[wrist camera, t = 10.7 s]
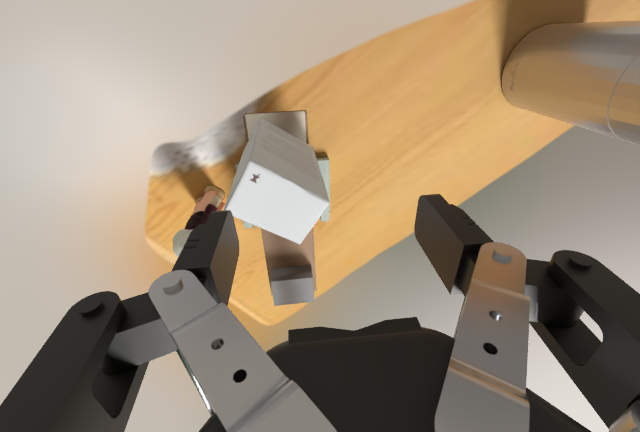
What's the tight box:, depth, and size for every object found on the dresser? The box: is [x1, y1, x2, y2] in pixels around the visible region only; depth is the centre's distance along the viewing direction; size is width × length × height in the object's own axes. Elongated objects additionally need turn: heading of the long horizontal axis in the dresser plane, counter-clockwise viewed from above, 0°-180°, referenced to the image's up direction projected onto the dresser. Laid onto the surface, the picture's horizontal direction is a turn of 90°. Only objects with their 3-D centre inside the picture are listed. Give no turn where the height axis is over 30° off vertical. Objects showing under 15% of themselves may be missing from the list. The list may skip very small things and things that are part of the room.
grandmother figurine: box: [173, 185, 225, 257], centre depth 35 cm, size 8×4×13 cm, turn 146°
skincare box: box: [224, 118, 330, 244], centre depth 25 cm, size 6×4×12 cm
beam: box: [243, 110, 316, 306], centre depth 34 cm, size 7×23×5 cm, turn 2°
